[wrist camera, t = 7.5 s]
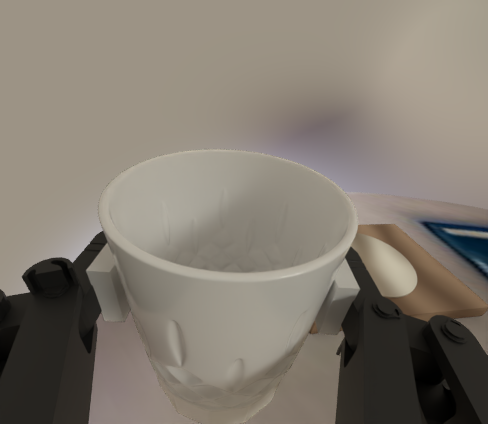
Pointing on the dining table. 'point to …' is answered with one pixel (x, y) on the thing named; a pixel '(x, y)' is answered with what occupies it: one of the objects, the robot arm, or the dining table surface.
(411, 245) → the walnut board
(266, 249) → the white cup
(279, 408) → the dining table surface
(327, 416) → the dining table surface
